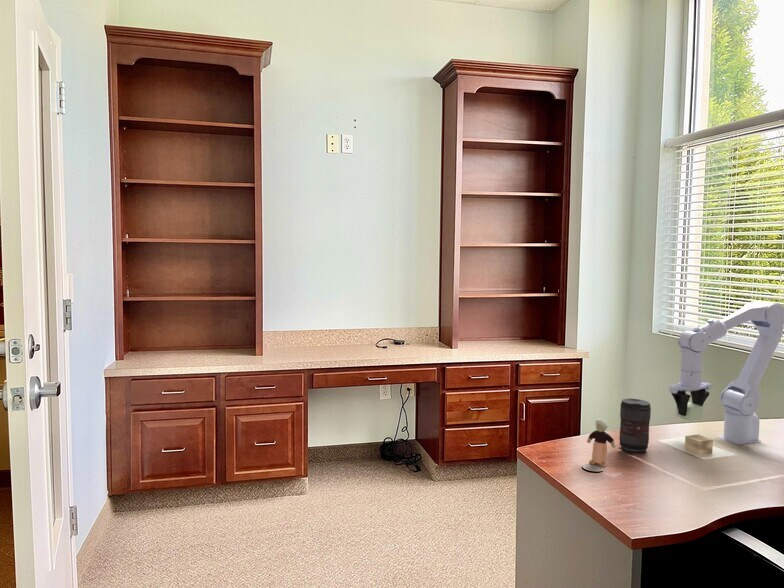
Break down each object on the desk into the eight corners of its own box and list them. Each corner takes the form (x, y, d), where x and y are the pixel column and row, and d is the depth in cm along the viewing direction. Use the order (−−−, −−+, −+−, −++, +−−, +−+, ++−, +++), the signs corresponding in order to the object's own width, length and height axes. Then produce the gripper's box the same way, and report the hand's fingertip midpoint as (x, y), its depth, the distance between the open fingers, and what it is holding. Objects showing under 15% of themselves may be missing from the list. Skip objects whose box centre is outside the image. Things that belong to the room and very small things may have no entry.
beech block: (697, 447, 169) (698, 434, 169) (712, 453, 165) (713, 439, 164) (684, 449, 168) (685, 436, 168) (699, 455, 163) (699, 441, 163)
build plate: (687, 438, 180) (687, 436, 180) (735, 456, 164) (735, 454, 164) (657, 442, 176) (657, 440, 176) (703, 461, 160) (703, 459, 160)
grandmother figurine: (584, 463, 157) (585, 418, 156) (586, 459, 161) (588, 415, 160) (614, 469, 154) (615, 422, 153) (615, 464, 157) (617, 419, 156)
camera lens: (652, 457, 163) (654, 405, 162) (622, 455, 164) (624, 404, 163) (644, 447, 171) (646, 398, 170) (616, 446, 172) (617, 397, 171)
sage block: (688, 414, 179) (689, 402, 178) (702, 419, 174) (702, 406, 174) (676, 416, 177) (676, 403, 177) (689, 420, 172) (690, 407, 172)
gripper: (698, 366, 180) (696, 408, 181) (662, 369, 176) (660, 412, 177) (717, 370, 174) (715, 414, 175) (680, 374, 169) (678, 419, 170)
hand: (689, 414), depth 175 cm, fingers closed on sage block, 5 cm apart
